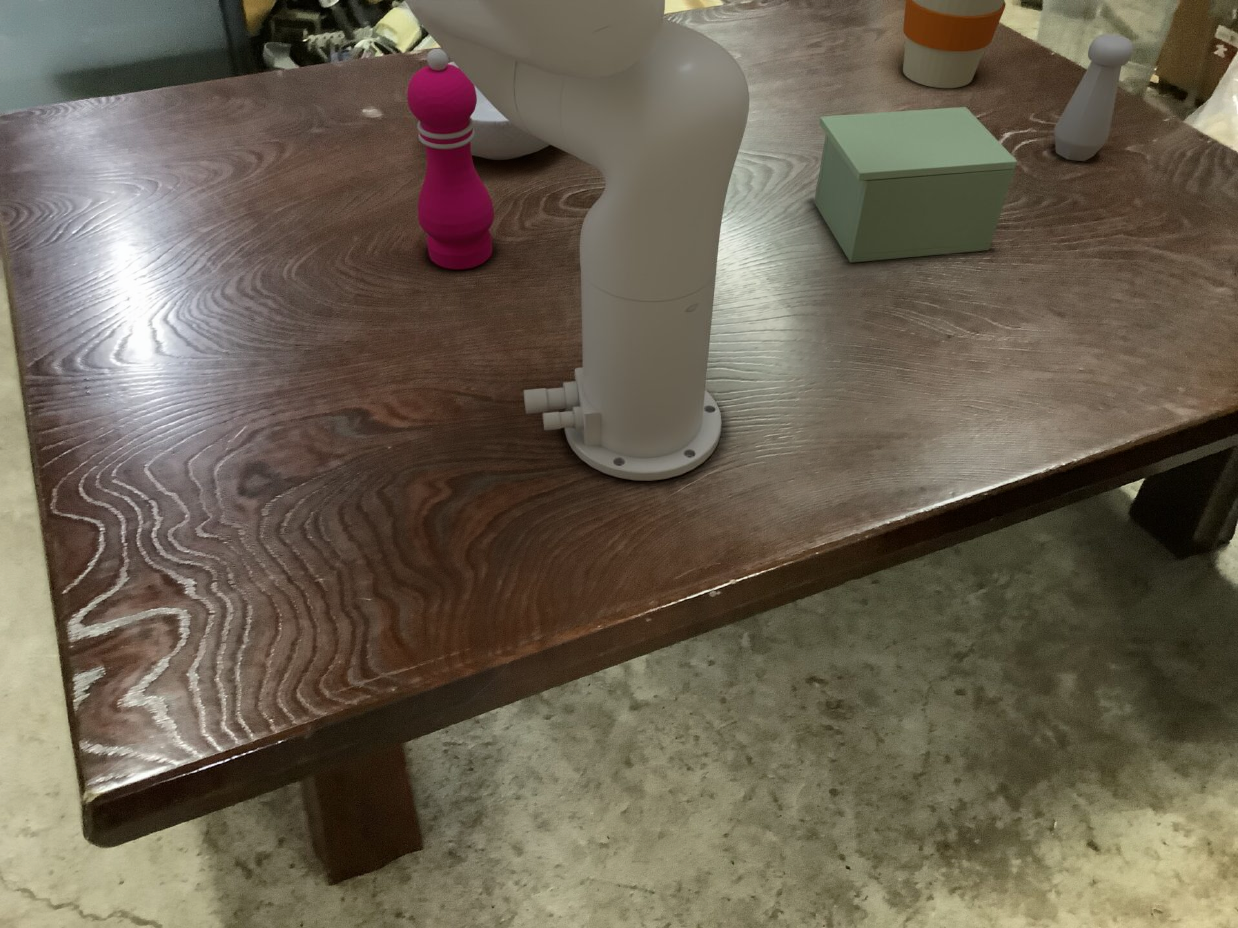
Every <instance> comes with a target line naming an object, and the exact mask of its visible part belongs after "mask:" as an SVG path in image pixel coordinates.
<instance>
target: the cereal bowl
mask: <svg viewBox="0 0 1238 928" xmlns="http://www.w3.org/2000/svg"><path fill="white" fill-rule="evenodd" d="M448 64H450V65H453V66H456V67H458V66H457V65H456V64H455V63H454V62H453V61H451V62H448ZM458 68H459V67H458ZM474 87H475V91H476V95H477V103H476V108H475V110H474V112H473V114H472V115H471V116H470V117H471V118H472V120H473V122H474V126H473V130H474V132H475V135H474V138H473V139H472V140H471V155H472V157H473V156H474V157H479V158H482V159H483V158H484V159H486V160H494V161H507V160H515V159H517V158H520V157H524V156H527V155H531V154H533V153H537V152H539V151H541V150H543V149H545V148H547V147H548V146H551V145H550V144H548V143H546V142H544V141H542V140H540V139H538V138H536V137H534V136H532V135H530V134H528V133H527V132H525V131H523V130H521V129H520V128H518V127H517V126H515V125H514V124H512V123H511V122H510V121H509V120H508V119H506V118H505V117H504V116H503V115H502V114H501V113H500V112H499V111H498V110H497V109H496V108H495V107H494V106H493V105H492V104H491V103H490V102H489V101H488V100H487V99H486V98H485V96H484V95H483V94H482V93H481V92H480V91H479V90H478V89H477V88H476V86H475V85H474Z"/></svg>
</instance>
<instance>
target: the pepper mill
mask: <svg viewBox="0 0 1238 928" xmlns="http://www.w3.org/2000/svg"><path fill="white" fill-rule="evenodd" d="M426 61H427V64H428V65H426V66H424V67H422V68H420V69H419V70H417V71H416V72H415V73H414V74H413V75H412V77H411V78H410V80H409V83H408V86H407V93H406V94H407V96H406V97H407V105H408V108H409V110H410V112H411V113H412V115H413V116H414V117H415V118H416V119H417V120H418V121H417V126H416V128H417V129H416V130H417V131H418V140H419V141H420V143H421V144H422V145H424V149H425V153H426V169H425V170H426V172H425V175H424V179H423V182H422V186H421V189H420V193H419V197H418V201H417V202H418V204H417V218H418V223H419V226H420V227H421V229H422V231H424V232H425V233H426V234H427V237H426V244H427V250H428V251H427V252H428V257H429V258H430V260H431V261H432V262H433V263H434V264H435V265H437V266H439V267H442V268H444V269H448V270H468V269H472V268H475V267H478V266H481V265H482V264H484V263H486V261H488V260H489V259H490V258H491V256H492V253H493V242H492V233H491V231H490V229H491V227H492V225H493V222H494V219H495V212H494V205H493V199H492V198H491V196H490V193H489V191H488V189H487V187H486V185H485V184H484V182H483V181H482V179H481V178H480V176H479V173H478V172H477V170H476V167H475V165H474V162H473V161H474V160H473V155H471V140H472V139H473V138H474V135H475V132H474V130H473V126H474V122H473V120H472V118H471V117H470V116H471V115H472V114H473V112H474V110H475V108H476V103H477V95H476V91H475V87H474V84H473V83H472V82H471V81H470V80H469V79H468V78H467V76H466V75H465V74H464V73H463V72H462V71H461V70H460V68H458V67H456V66H453V65H450V64H448V63H449V56H448V55H447V54H446V53H445V51H444V50H443V49H442V48H433V49H430V51H429V52H428V53H427V56H426Z"/></svg>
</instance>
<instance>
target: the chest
mask: <svg viewBox="0 0 1238 928" xmlns="http://www.w3.org/2000/svg"><path fill="white" fill-rule="evenodd" d="M823 142H824V143H823V148H822V154H821V160H820V165H819V171H818V176H817V177H818V178H817V183H816V189H815V194H814V195H815V196H814V202H813V203H814V205H815V206H816V208H817V210H818V211H819V213H820V215H821V217H822V218H823V219H824V221H825V223H826V225H827V226H828V228H829V229H830V231H831V233H832V235H833V236H834V238H835V239H836V241H837V243H838V245H839V246H840V248H841V249H842V251H843V252H844V254H845V256H846V257H847V259H848V261H849V262H850V263H860V262H861V263H862V262H872V261H883V260H893V259H894V260H895V259H905V258H916V257H927V256H928V257H929V256H937V255H950V254H961V253H971V252H972V253H973V252H982V251H989V250H990V248H991V244H992V242H993V239H994V236H995V233H996V230H997V226H998V224H999V220H1000V217H1001V215H1002V211H1003V208H1004V204H1005V202H1006V198H1007V195H1008V192H1009V189H1010V186H1011V183H1012V181H1013V176H1014V173H1015V171H1016V168H1015V169H1005V170H991V171H978V172H965V173H952V174H939V175H926V176H912V177H899V178H886V179H873V180H860V181H859V180H858V179H857V178H856V176H855V175H854V174H853V172H852V171H851V169H850V168H849V166H848V165H847V163H846V162H845V161H844V159H843V158H842V156H841V155H840V153H839V152H838V150H837V149H836V148H835V146H834V145H833V143H832V142H831V140H830V139H829V137H828V136H827V134H826V133H825V136H824V141H823Z"/></svg>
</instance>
